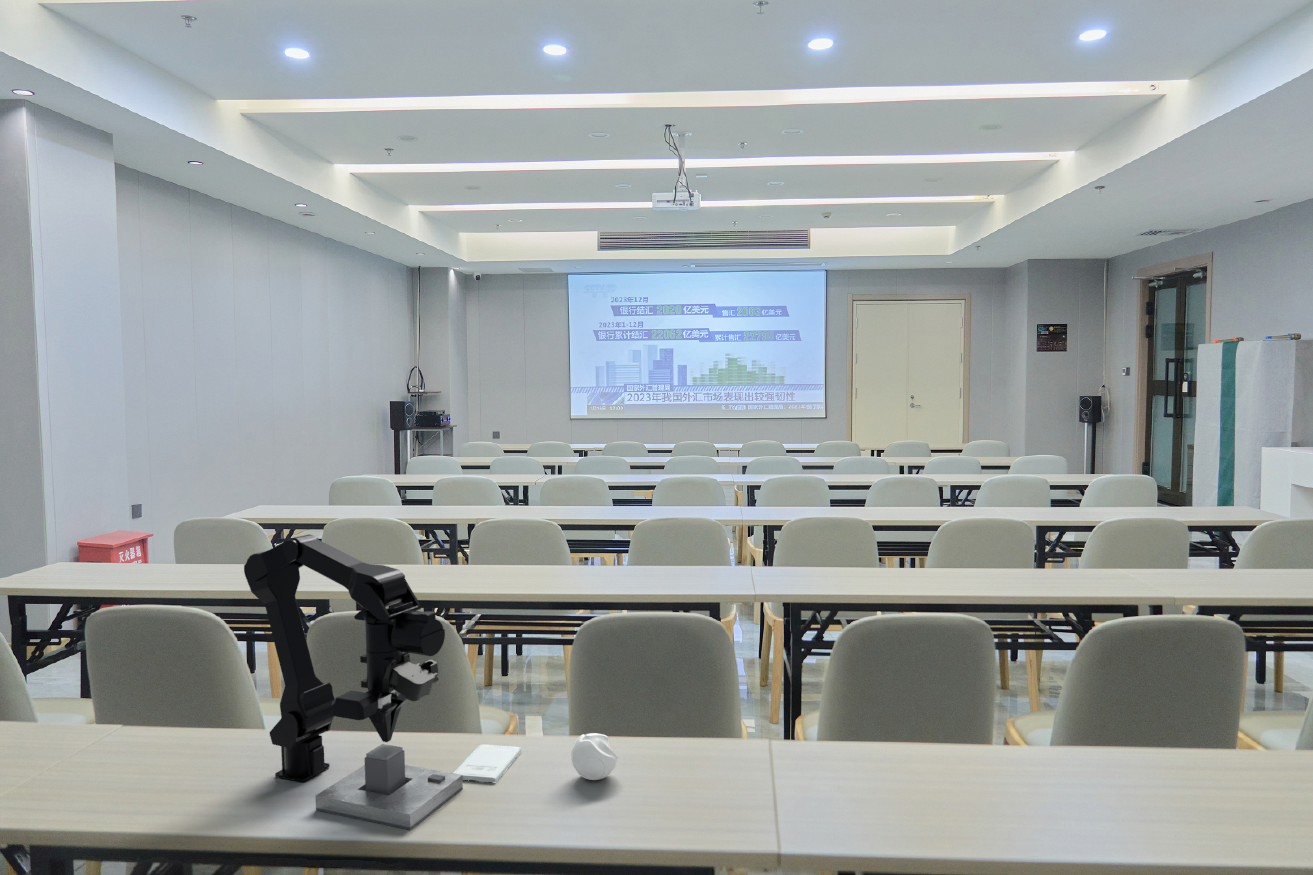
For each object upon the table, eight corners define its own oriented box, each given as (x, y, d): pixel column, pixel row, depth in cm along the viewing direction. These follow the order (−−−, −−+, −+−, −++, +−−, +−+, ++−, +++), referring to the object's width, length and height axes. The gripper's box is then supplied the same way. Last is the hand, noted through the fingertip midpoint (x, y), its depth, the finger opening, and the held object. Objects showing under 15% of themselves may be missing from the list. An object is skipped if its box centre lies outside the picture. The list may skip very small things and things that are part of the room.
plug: (365, 799, 138) (364, 753, 138) (383, 787, 142) (382, 743, 142) (388, 804, 137) (387, 757, 136) (405, 791, 141) (404, 746, 140)
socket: (315, 810, 136) (315, 792, 136) (374, 772, 149) (373, 756, 149) (410, 829, 130) (409, 811, 129) (462, 788, 143) (462, 771, 142)
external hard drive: (521, 755, 157) (495, 786, 145) (479, 752, 158) (450, 782, 146) (521, 746, 157) (495, 776, 144) (479, 743, 158) (450, 773, 146)
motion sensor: (624, 782, 144) (623, 737, 144) (582, 792, 141) (581, 746, 140) (605, 764, 151) (605, 721, 151) (565, 772, 148) (564, 729, 148)
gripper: (386, 671, 128) (389, 772, 129) (459, 637, 146) (461, 726, 146) (327, 662, 132) (330, 761, 133) (405, 630, 150) (407, 717, 151)
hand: (386, 741), depth 141 cm, fingers closed
